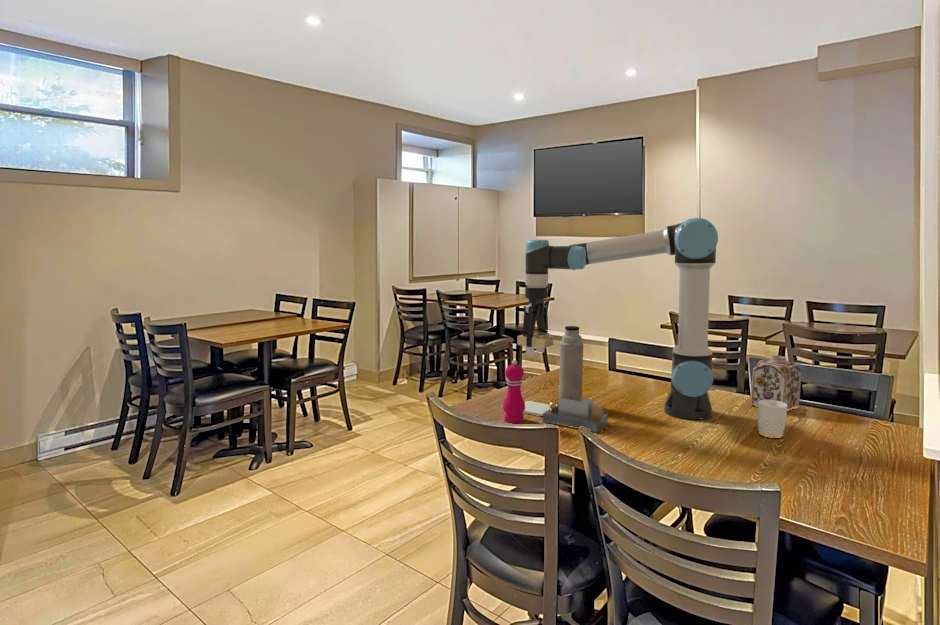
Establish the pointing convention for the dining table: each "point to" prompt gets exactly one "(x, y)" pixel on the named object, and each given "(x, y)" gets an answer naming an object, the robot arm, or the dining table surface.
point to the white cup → (771, 417)
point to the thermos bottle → (571, 363)
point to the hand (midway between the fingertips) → (535, 353)
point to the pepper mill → (514, 394)
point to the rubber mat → (535, 408)
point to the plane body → (576, 413)
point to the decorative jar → (776, 381)
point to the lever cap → (537, 340)
